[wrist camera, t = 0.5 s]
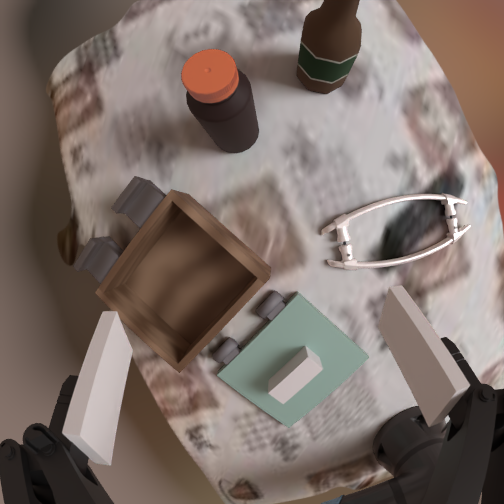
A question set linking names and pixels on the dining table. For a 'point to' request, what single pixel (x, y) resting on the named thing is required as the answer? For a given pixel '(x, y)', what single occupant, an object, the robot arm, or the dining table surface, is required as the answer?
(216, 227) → the cabinet
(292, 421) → the door
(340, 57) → the beer bottle
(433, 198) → the door handle
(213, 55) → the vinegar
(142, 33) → the dining table surface
